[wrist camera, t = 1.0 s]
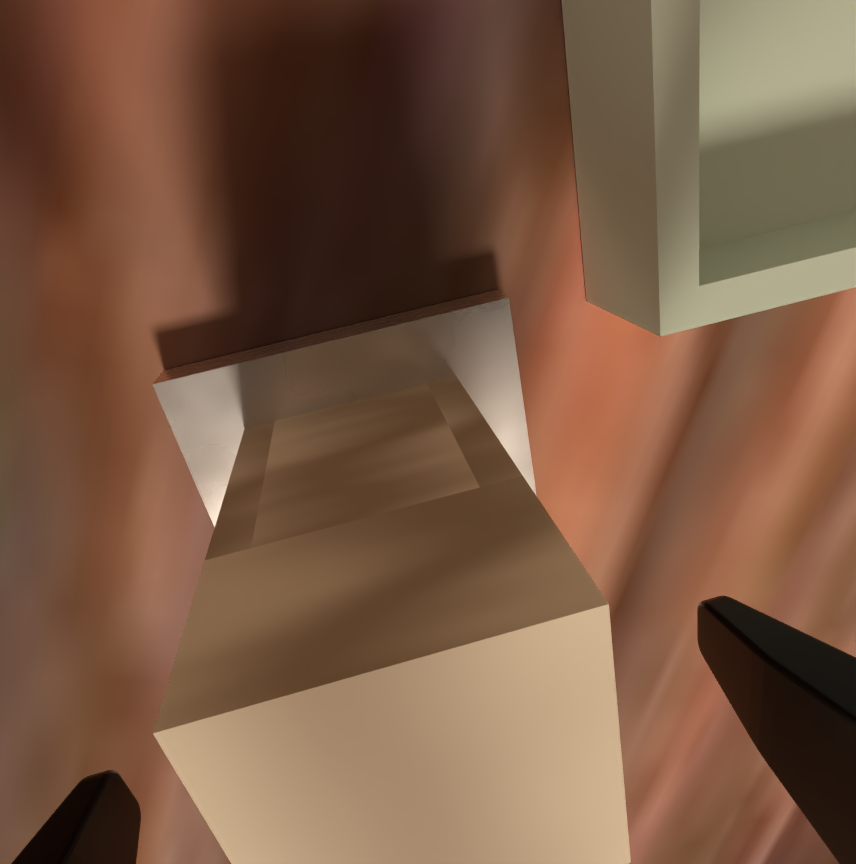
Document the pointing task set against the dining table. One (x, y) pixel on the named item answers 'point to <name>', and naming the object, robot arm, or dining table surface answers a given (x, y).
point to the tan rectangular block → (395, 653)
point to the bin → (712, 154)
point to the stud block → (346, 381)
